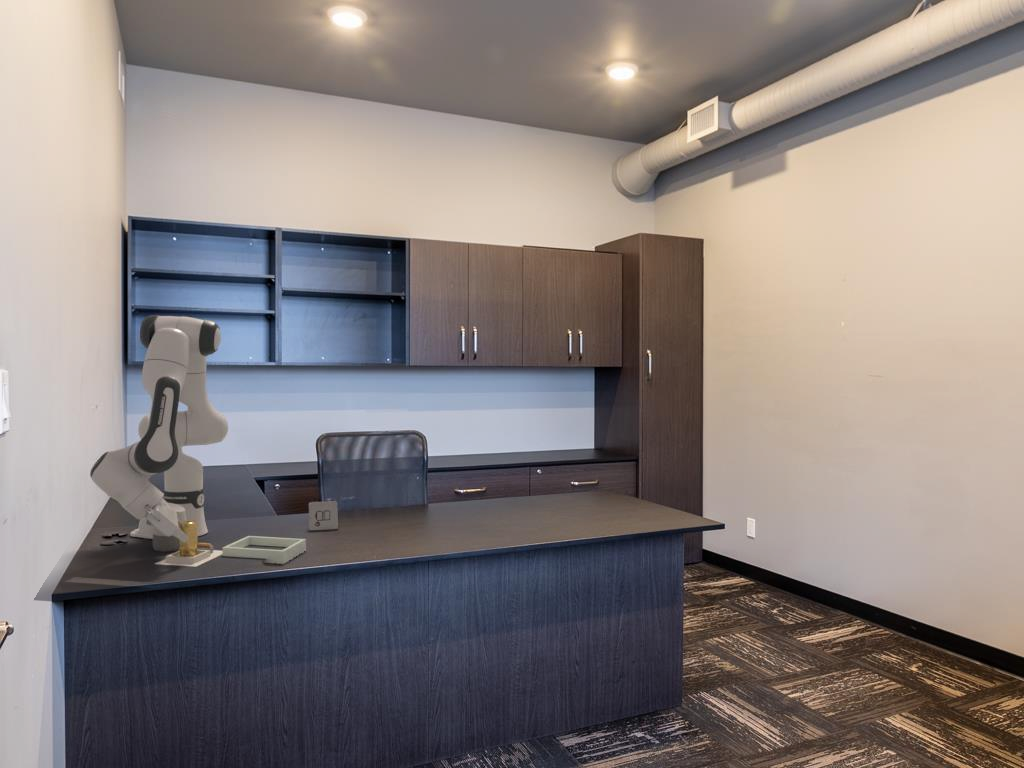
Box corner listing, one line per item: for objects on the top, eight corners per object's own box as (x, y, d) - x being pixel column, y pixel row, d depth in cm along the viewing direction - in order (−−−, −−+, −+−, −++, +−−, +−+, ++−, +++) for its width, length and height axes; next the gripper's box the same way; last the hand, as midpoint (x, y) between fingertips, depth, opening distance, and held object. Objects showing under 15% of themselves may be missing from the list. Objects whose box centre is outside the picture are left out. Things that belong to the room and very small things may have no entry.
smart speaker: (180, 556, 200) (181, 506, 200) (146, 556, 199) (147, 506, 199) (193, 547, 209) (193, 500, 209) (160, 547, 209) (161, 500, 208)
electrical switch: (308, 531, 232) (309, 502, 233) (307, 529, 237) (307, 501, 238) (338, 529, 236) (338, 501, 236) (336, 528, 240) (336, 500, 241)
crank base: (153, 568, 188) (153, 553, 187) (189, 552, 203) (189, 539, 203) (195, 571, 186) (196, 556, 186) (228, 555, 202) (228, 541, 202)
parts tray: (222, 560, 197) (222, 547, 196) (248, 547, 210) (248, 535, 210) (283, 564, 194) (283, 551, 194) (305, 551, 208) (305, 539, 208)
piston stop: (175, 560, 191) (176, 523, 190) (185, 556, 195) (186, 520, 195) (191, 561, 190) (191, 524, 190) (200, 557, 194) (200, 521, 194)
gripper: (155, 500, 179) (197, 535, 184) (155, 487, 197) (193, 519, 202) (135, 519, 177) (178, 554, 182) (137, 504, 196) (176, 536, 200)
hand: (186, 536), depth 192 cm, fingers open, 8 cm apart
